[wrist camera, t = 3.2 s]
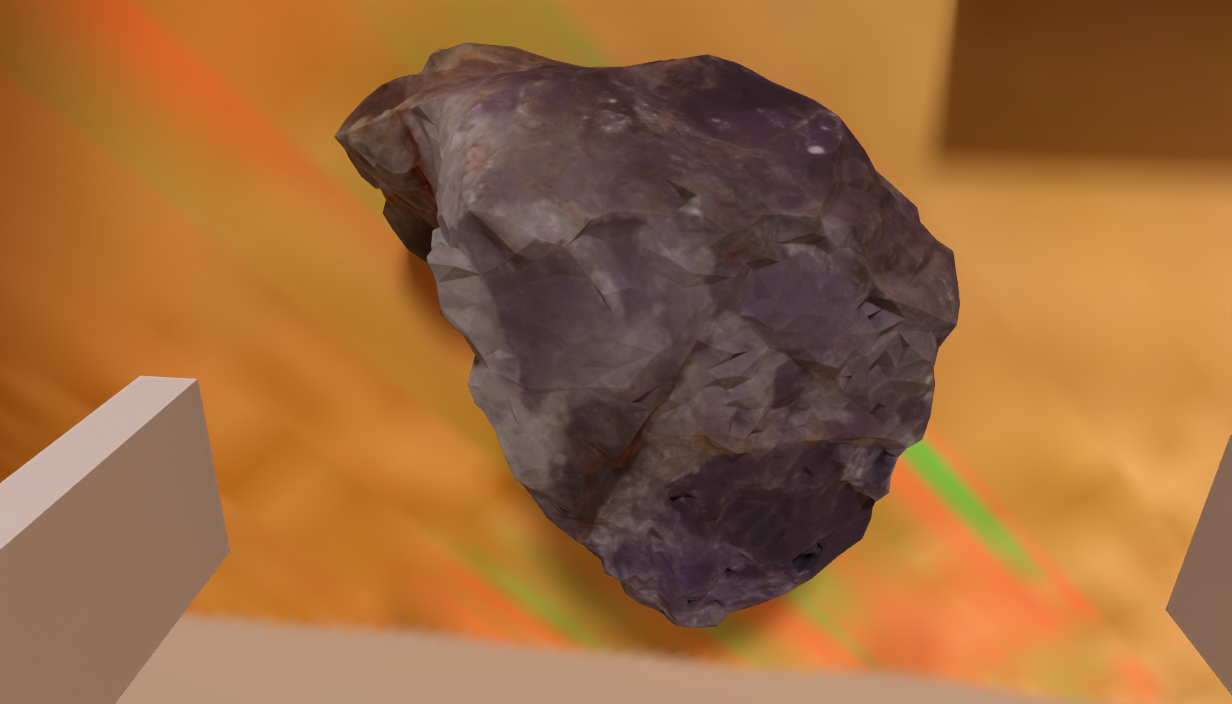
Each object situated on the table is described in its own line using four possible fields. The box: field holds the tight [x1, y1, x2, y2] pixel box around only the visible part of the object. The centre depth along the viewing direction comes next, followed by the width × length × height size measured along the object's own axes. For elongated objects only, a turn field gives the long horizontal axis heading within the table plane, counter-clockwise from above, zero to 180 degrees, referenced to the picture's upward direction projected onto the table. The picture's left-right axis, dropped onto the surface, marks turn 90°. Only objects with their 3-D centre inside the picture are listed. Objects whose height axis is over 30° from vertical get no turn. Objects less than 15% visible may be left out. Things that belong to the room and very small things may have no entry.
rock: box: [334, 43, 960, 628], centre depth 17 cm, size 12×9×10 cm
